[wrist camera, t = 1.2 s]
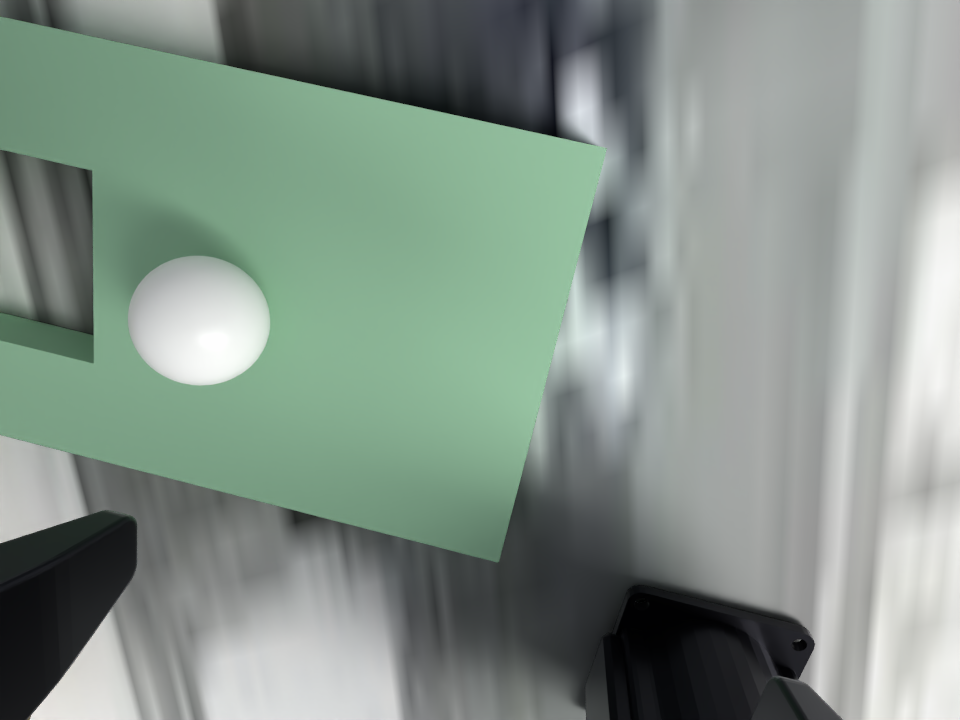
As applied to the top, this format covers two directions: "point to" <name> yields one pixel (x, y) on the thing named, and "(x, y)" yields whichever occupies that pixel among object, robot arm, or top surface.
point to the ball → (199, 320)
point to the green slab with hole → (302, 285)
